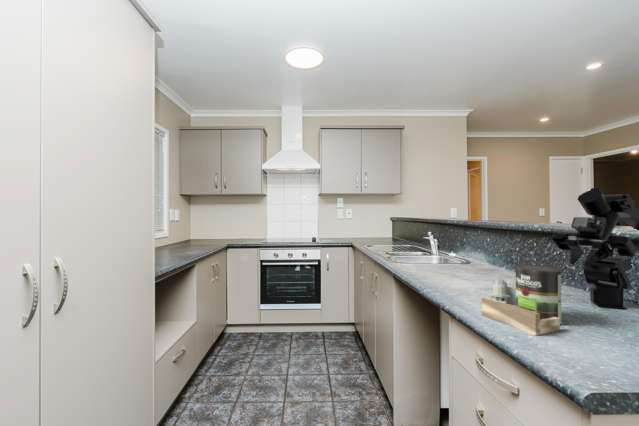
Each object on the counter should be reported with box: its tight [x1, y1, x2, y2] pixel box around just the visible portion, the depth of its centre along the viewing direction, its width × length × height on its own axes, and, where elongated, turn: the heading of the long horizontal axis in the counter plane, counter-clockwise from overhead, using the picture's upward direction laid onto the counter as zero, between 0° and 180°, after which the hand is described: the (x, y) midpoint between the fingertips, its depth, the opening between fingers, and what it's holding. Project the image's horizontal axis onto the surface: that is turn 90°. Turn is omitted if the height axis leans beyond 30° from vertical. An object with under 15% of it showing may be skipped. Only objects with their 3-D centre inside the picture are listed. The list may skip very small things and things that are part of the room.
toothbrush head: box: [489, 277, 510, 304], centre depth 104 cm, size 5×7×25 cm
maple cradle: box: [480, 296, 561, 336], centre depth 78 cm, size 8×15×5 cm, turn 20°
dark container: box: [514, 263, 563, 325], centre depth 81 cm, size 10×10×14 cm
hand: (577, 264), depth 87 cm, fingers open, 3 cm apart
